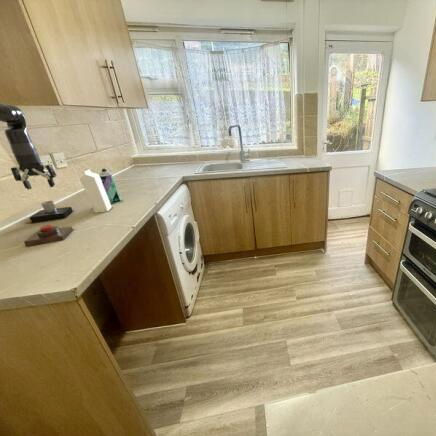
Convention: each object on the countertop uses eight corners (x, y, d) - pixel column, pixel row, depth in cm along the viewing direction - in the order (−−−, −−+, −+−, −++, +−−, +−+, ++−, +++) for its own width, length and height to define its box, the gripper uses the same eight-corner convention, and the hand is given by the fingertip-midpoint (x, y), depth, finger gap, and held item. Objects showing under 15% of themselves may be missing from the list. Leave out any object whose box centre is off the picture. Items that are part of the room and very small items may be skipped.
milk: (112, 208, 134) (96, 168, 125) (108, 212, 129) (91, 170, 119) (99, 209, 132) (82, 169, 123) (94, 213, 127) (77, 172, 118)
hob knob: (43, 213, 120) (38, 203, 118) (47, 210, 124) (43, 201, 122) (54, 212, 122) (50, 202, 120) (58, 209, 126) (54, 199, 123)
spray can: (111, 202, 144) (98, 168, 135) (122, 200, 146) (109, 167, 137) (110, 205, 139) (96, 170, 131) (121, 202, 141) (108, 169, 133)
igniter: (26, 246, 96) (21, 237, 95) (39, 235, 105) (35, 227, 103) (63, 240, 100) (59, 232, 99) (73, 230, 109) (69, 222, 107)
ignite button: (39, 233, 99) (37, 229, 98) (44, 229, 102) (42, 225, 101) (50, 231, 100) (49, 227, 100) (54, 228, 103) (53, 224, 103)
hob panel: (32, 223, 118) (29, 217, 116) (42, 215, 126) (39, 210, 125) (65, 218, 122) (62, 212, 121) (73, 211, 131) (70, 206, 129)
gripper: (49, 150, 115) (63, 184, 121) (10, 153, 110) (26, 187, 117) (41, 153, 109) (56, 188, 115) (-1, 155, 104) (16, 191, 110)
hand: (41, 187), depth 116 cm, fingers open, 8 cm apart
